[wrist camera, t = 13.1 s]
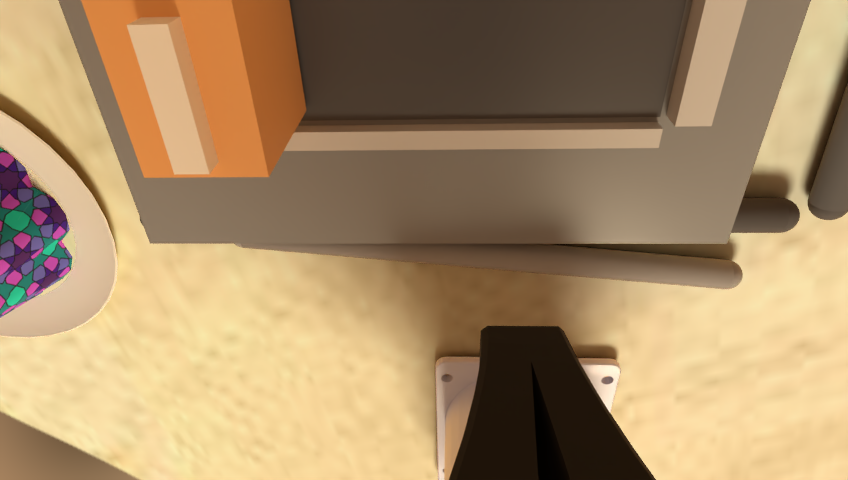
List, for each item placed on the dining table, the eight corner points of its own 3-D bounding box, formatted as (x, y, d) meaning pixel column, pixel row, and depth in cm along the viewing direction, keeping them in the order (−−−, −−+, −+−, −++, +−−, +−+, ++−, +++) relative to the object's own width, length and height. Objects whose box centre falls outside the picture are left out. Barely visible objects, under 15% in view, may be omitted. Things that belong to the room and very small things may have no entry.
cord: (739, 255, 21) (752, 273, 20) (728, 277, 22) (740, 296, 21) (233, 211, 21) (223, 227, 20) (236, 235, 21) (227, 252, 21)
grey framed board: (709, 218, 20) (736, 257, 18) (169, 219, 21) (140, 256, 19) (878, -324, 12) (960, -358, 10) (-3, -281, 13) (-83, -304, 11)
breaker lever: (306, 110, 16) (261, 189, 13) (206, 111, 17) (132, 190, 13) (283, -41, 14) (219, 0, 10) (167, -38, 14) (62, 4, 10)
